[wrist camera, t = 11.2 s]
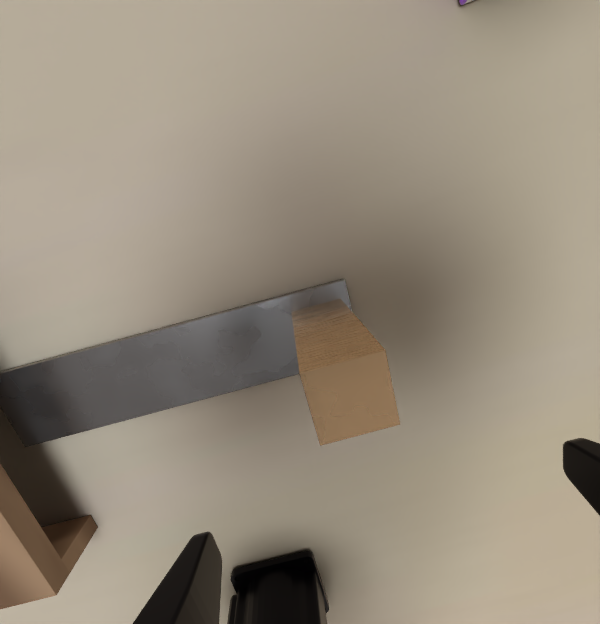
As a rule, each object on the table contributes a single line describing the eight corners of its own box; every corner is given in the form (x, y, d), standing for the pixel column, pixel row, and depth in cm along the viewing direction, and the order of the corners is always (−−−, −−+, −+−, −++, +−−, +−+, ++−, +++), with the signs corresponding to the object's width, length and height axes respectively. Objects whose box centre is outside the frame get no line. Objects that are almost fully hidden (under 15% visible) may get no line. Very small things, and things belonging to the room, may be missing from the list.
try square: (342, 278, 18) (394, 319, 10) (359, 351, 20) (417, 443, 11) (-5, 372, 19) (-242, 490, 10) (35, 438, 20) (-146, 592, 12)
